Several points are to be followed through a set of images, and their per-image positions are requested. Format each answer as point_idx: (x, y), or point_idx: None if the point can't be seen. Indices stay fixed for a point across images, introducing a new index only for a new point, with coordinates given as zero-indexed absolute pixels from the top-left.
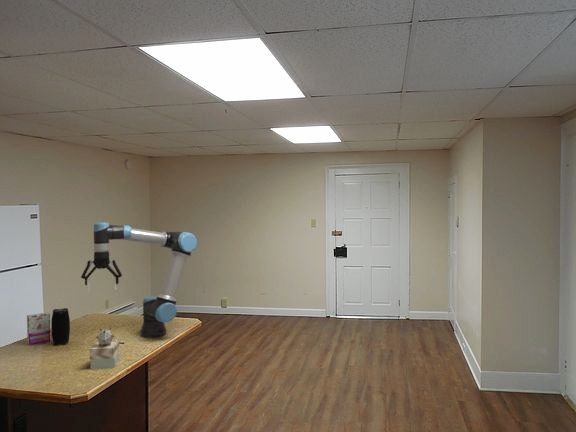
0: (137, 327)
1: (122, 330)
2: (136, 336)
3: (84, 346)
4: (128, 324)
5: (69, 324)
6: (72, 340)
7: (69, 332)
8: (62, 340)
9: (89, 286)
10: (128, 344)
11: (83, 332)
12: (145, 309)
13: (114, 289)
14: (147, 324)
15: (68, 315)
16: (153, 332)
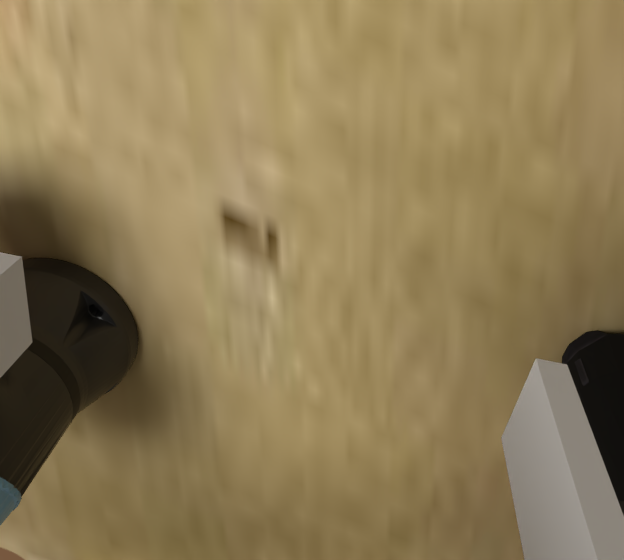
0: (172, 477)
1: (249, 460)
2: (159, 323)
3: (471, 248)
4: (224, 540)
5: None
6: None
7: None
8: (611, 345)
9: (524, 497)
10: (192, 175)
11: (457, 508)
12: (1, 413)
13: (4, 267)
14: (51, 333)
15: None
16: (35, 276)
